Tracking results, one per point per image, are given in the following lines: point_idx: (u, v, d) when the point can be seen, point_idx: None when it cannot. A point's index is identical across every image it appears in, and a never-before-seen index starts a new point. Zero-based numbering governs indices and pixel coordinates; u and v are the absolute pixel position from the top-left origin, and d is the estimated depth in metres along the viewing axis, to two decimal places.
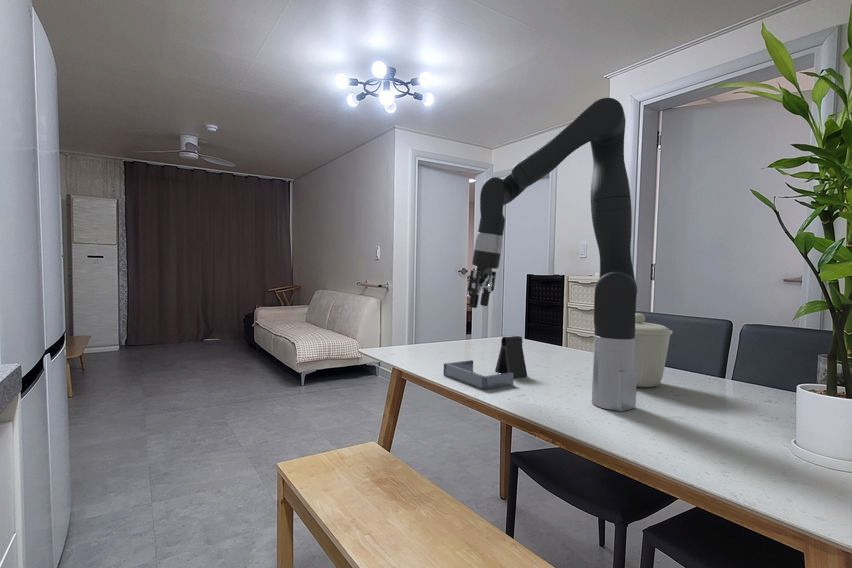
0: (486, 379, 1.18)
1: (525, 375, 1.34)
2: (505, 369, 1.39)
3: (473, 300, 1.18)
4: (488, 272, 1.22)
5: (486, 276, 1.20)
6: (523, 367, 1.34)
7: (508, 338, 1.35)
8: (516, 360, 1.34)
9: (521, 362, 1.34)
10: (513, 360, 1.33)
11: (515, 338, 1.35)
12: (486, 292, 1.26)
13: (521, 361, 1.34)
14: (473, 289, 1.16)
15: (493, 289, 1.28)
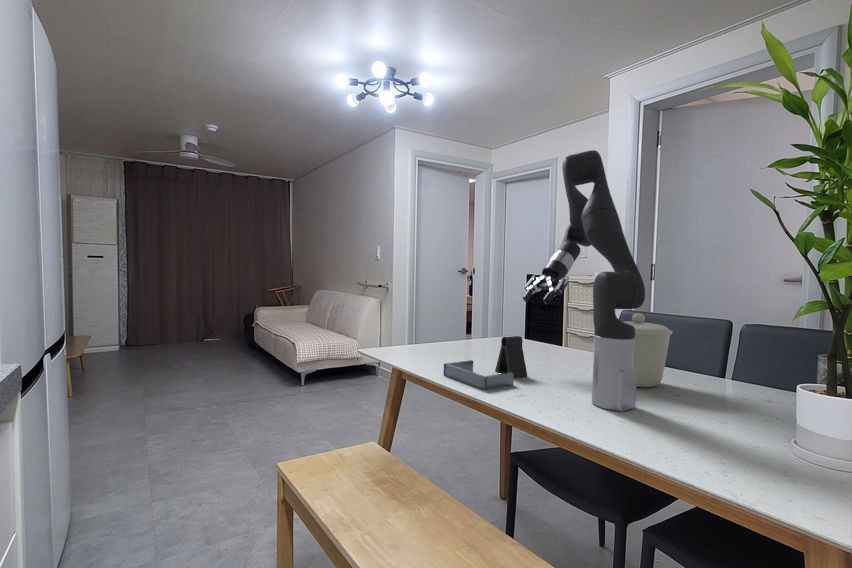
0: (486, 379, 1.18)
1: (525, 375, 1.34)
2: (505, 369, 1.39)
3: None
4: (549, 277, 1.44)
5: None
6: (523, 367, 1.34)
7: (508, 338, 1.35)
8: (516, 360, 1.34)
9: (521, 362, 1.34)
10: (513, 360, 1.33)
11: (515, 338, 1.35)
12: None
13: (521, 361, 1.34)
14: None
15: (556, 288, 1.37)
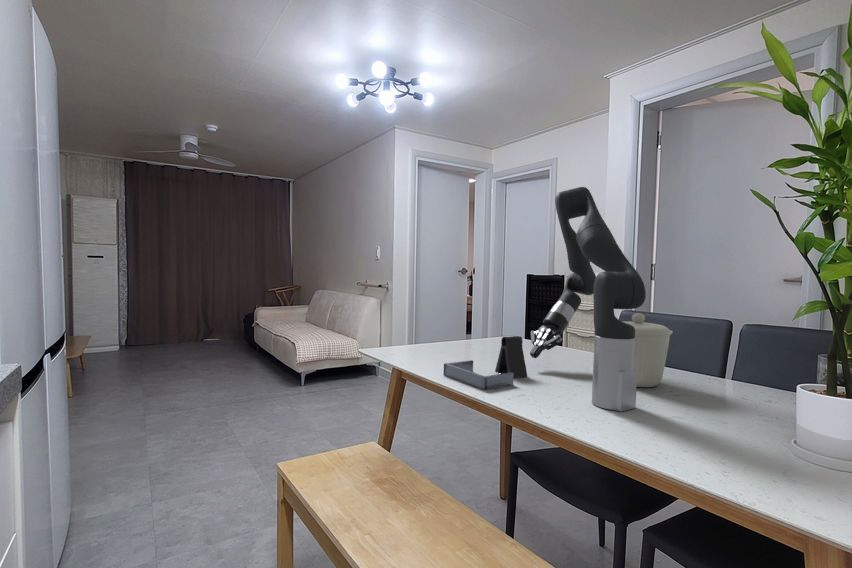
0: (486, 379, 1.18)
1: (525, 375, 1.34)
2: (505, 369, 1.39)
3: None
4: (549, 329, 1.45)
5: None
6: (523, 367, 1.34)
7: (508, 338, 1.35)
8: (516, 360, 1.34)
9: (521, 362, 1.34)
10: (513, 360, 1.33)
11: (515, 338, 1.35)
12: None
13: (521, 361, 1.34)
14: None
15: (544, 343, 1.41)
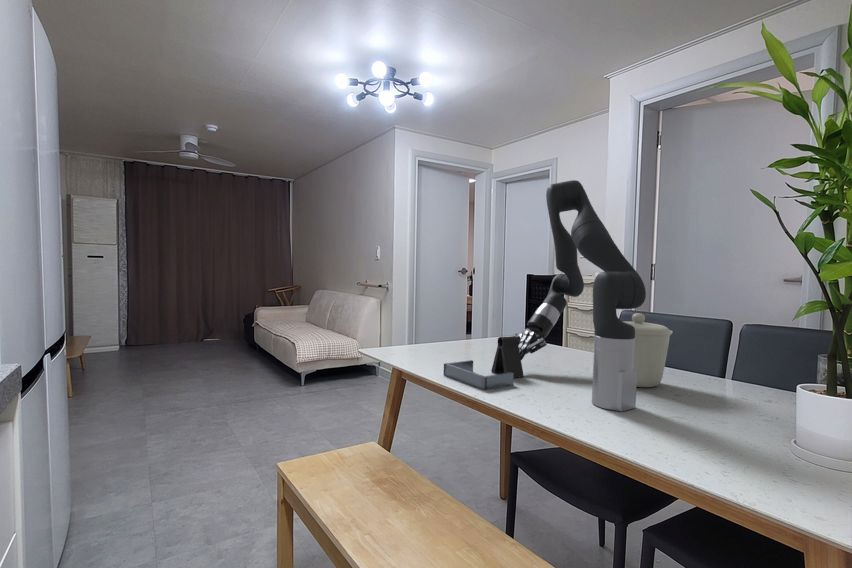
0: (486, 379, 1.18)
1: (521, 375, 1.33)
2: (501, 369, 1.38)
3: None
4: (533, 331, 1.41)
5: None
6: (519, 367, 1.33)
7: (504, 338, 1.34)
8: (512, 360, 1.33)
9: (517, 362, 1.34)
10: (509, 360, 1.33)
11: (511, 338, 1.35)
12: None
13: (517, 361, 1.34)
14: None
15: (528, 346, 1.37)
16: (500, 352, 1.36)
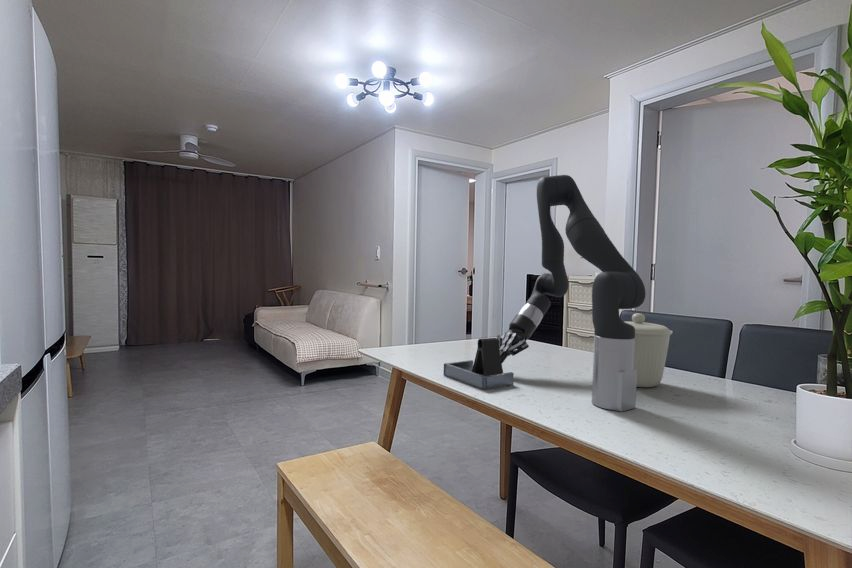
0: (486, 379, 1.18)
1: None
2: (481, 372, 1.34)
3: None
4: (515, 333, 1.36)
5: None
6: (500, 370, 1.29)
7: (484, 340, 1.29)
8: (493, 363, 1.29)
9: (498, 365, 1.29)
10: (489, 363, 1.28)
11: (492, 340, 1.30)
12: None
13: (498, 364, 1.30)
14: None
15: (509, 348, 1.32)
16: (480, 354, 1.31)
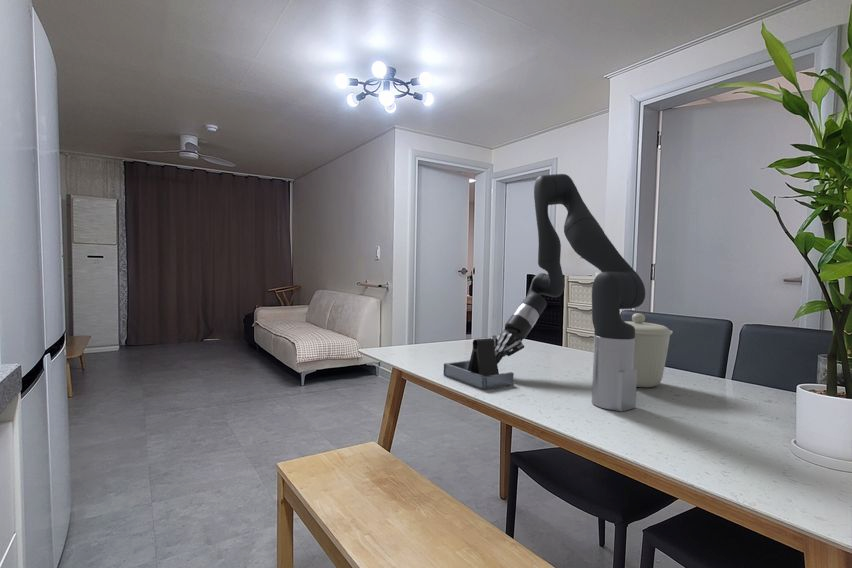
0: (486, 379, 1.18)
1: None
2: (477, 373, 1.33)
3: None
4: (511, 333, 1.35)
5: None
6: (495, 370, 1.28)
7: (479, 341, 1.28)
8: (488, 363, 1.28)
9: (493, 365, 1.28)
10: (485, 363, 1.27)
11: (487, 340, 1.29)
12: None
13: (493, 364, 1.29)
14: None
15: (505, 349, 1.31)
16: (475, 355, 1.30)
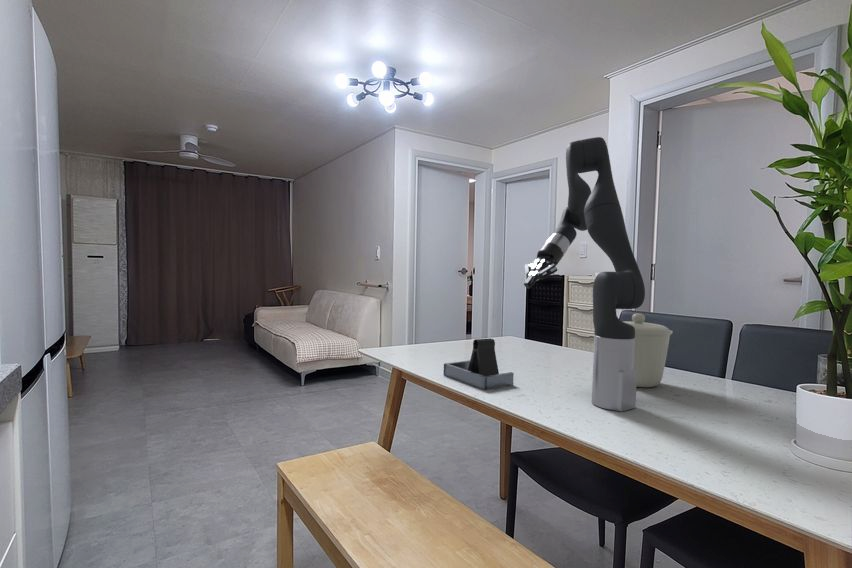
0: (486, 379, 1.18)
1: None
2: (477, 373, 1.33)
3: None
4: None
5: None
6: (495, 371, 1.28)
7: (480, 341, 1.28)
8: (488, 364, 1.28)
9: (493, 366, 1.28)
10: (485, 364, 1.27)
11: (487, 341, 1.29)
12: None
13: (493, 365, 1.29)
14: None
15: (539, 272, 1.38)
16: (476, 355, 1.30)
